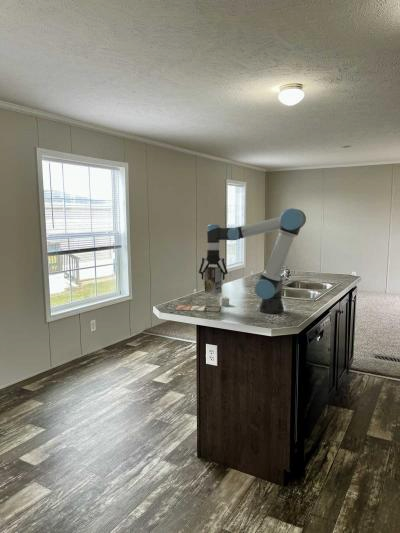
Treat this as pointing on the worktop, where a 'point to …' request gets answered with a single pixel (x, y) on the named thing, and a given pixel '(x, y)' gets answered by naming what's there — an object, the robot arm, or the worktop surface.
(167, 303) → the worktop surface
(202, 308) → the board
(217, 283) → the coffee box
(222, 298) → the die
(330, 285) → the worktop surface
